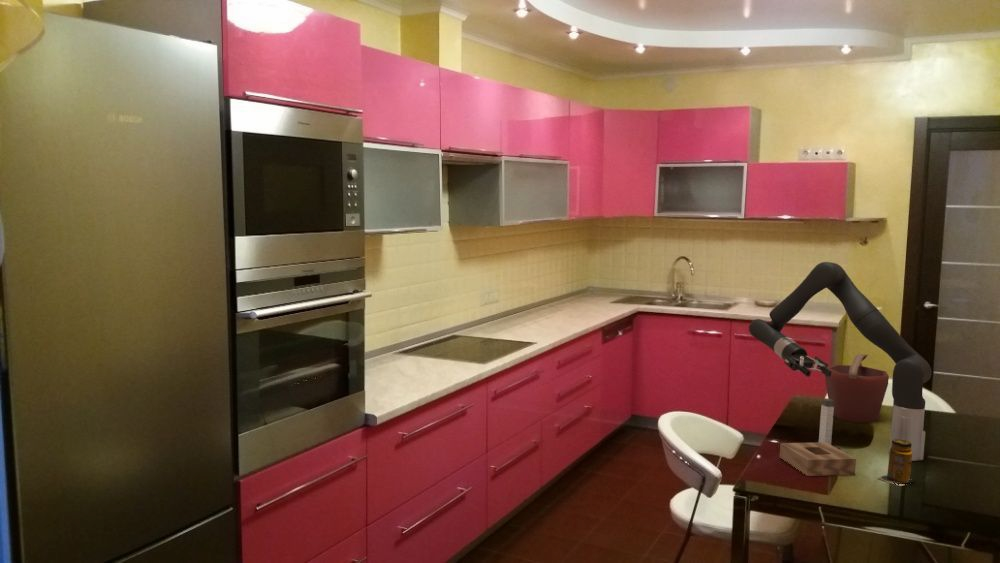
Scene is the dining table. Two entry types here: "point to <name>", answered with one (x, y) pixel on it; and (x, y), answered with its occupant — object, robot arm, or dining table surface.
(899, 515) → the dining table surface
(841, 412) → the bucket
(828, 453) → the tongs holder
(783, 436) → the dining table surface
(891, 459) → the condiment
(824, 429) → the metal bar
